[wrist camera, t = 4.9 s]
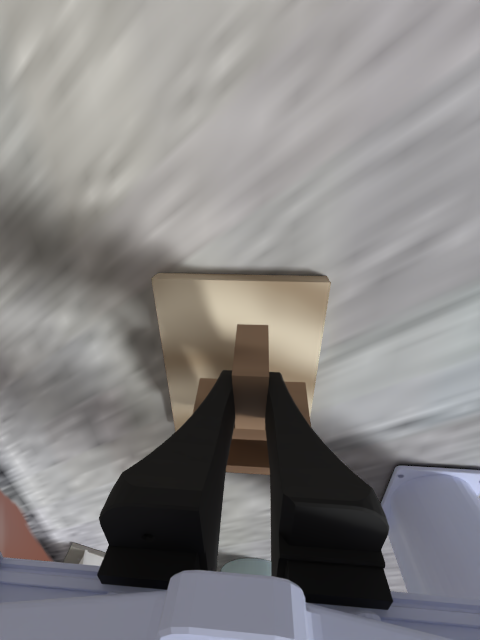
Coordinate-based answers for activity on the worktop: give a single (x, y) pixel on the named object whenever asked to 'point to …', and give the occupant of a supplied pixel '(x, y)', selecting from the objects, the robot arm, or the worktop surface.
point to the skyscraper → (84, 555)
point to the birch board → (221, 324)
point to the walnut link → (251, 400)
